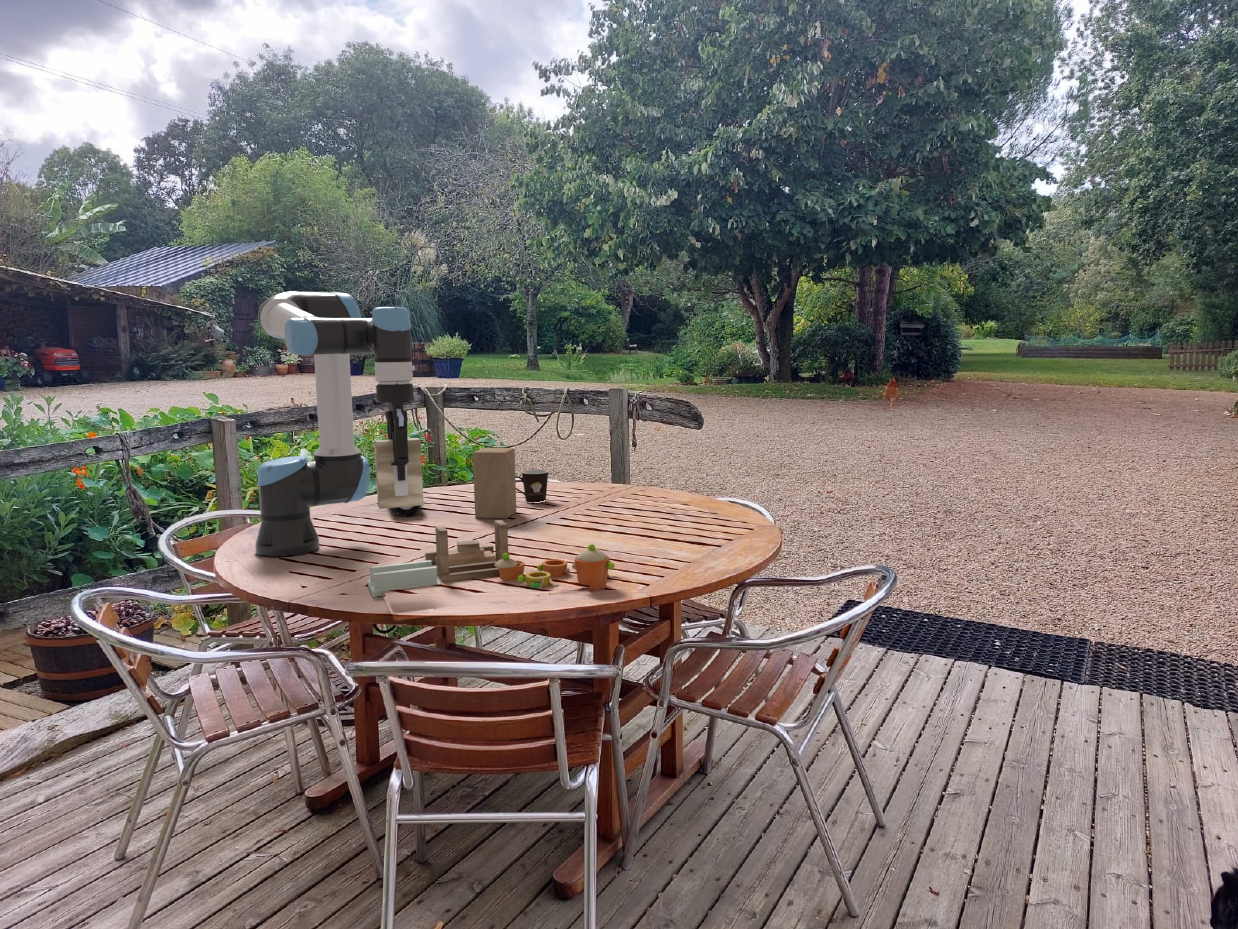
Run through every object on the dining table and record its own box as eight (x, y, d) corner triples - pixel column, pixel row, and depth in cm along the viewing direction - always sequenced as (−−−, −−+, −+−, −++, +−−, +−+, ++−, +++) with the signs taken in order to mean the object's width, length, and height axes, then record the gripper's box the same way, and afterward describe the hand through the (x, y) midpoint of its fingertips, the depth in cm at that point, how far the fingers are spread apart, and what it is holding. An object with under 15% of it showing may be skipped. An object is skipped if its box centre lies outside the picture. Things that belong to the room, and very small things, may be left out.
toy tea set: (608, 571, 191) (608, 530, 190) (622, 591, 176) (622, 546, 174) (493, 579, 186) (492, 537, 184) (498, 600, 171) (496, 554, 169)
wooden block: (516, 512, 256) (515, 447, 253) (506, 519, 246) (504, 452, 243) (485, 511, 258) (483, 447, 255) (474, 518, 248) (472, 451, 245)
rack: (425, 567, 194) (423, 516, 193) (492, 560, 200) (491, 510, 199) (440, 587, 178) (437, 532, 177) (512, 578, 185) (511, 525, 183)
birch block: (377, 506, 177) (374, 440, 174) (420, 502, 180) (417, 438, 178) (379, 508, 174) (376, 442, 172) (423, 505, 177) (420, 439, 175)
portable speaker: (385, 503, 273) (383, 473, 272) (416, 501, 276) (414, 471, 275) (390, 519, 249) (388, 486, 248) (424, 516, 252) (422, 483, 251)
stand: (367, 585, 181) (366, 565, 181) (432, 577, 187) (431, 558, 186) (373, 597, 172) (372, 577, 171) (441, 589, 178) (440, 569, 177)
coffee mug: (552, 499, 275) (551, 470, 274) (544, 504, 267) (543, 474, 266) (519, 498, 278) (518, 469, 277) (510, 503, 270) (509, 473, 268)
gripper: (419, 384, 167) (425, 499, 171) (406, 380, 182) (411, 486, 185) (381, 385, 164) (387, 502, 168) (371, 381, 179) (376, 489, 182)
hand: (400, 493), depth 176 cm, fingers closed on birch block, 3 cm apart
